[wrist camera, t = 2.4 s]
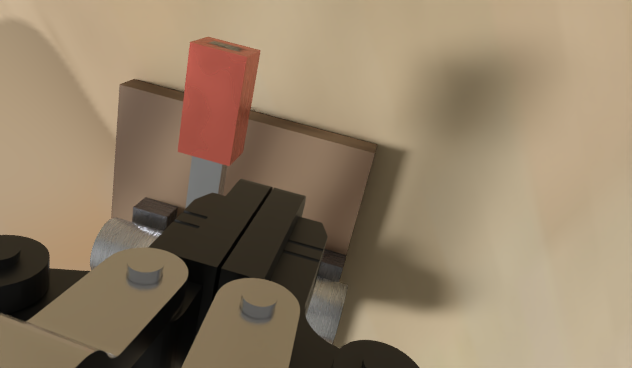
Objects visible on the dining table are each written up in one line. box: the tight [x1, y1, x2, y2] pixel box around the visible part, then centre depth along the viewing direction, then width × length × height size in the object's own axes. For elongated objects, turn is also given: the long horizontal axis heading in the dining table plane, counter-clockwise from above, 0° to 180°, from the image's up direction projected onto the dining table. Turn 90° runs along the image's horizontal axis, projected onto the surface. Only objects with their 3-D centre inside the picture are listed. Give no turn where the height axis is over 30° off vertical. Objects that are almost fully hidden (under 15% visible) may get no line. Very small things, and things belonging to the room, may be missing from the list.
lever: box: [178, 37, 260, 209], centre depth 21 cm, size 14×3×2 cm, turn 168°
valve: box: [90, 197, 348, 344], centre depth 27 cm, size 13×4×7 cm, turn 78°
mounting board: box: [111, 79, 377, 255], centre depth 31 cm, size 14×14×2 cm
